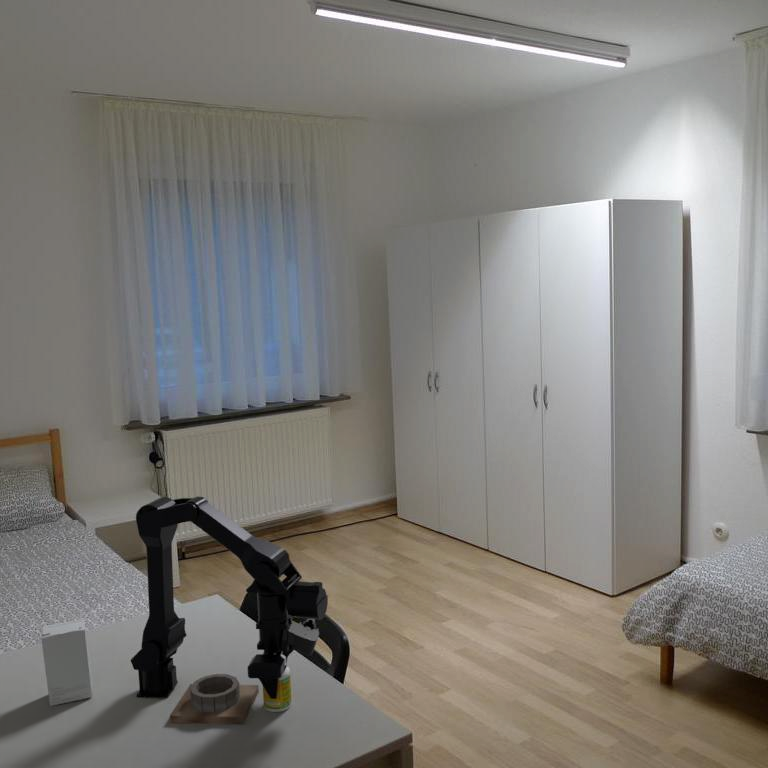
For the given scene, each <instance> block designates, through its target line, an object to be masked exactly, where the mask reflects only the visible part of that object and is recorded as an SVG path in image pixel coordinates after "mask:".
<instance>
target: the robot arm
mask: <svg viewBox="0 0 768 768" xmlns="http://www.w3.org/2000/svg"><path fill="white" fill-rule="evenodd" d="M135 522H136V528H137V531H138V532H137V533H138V537H139V538H140V539H141V540H142V543H144V545H145V548H146V569H147V592H148V593H147V594H148V617H147V621H146V622H145V626H144V629H143V631H142V638H141V647H140V648H141V649H139V651H137V653H136V654H135V655H134V656H133V657H132V658H131V659H130V663H131V665H132V667H133V670H135V671H137V672H138V673H137V674H138V685H139V688H138V689H139V690H138V691H137V693H136V698H147V699H148V698H154V699H155V698H156V699H158V698H159V699H161V698H162V699H163V698H164V699H166V698H169V696H170V695H171V693H172V692H173V690H174V689H175V688H176V687H177V684H178V679H177V666H176V665H174V658H173V656H174V655H176V653H177V651H178V648H179V647H180V646H181V645H182V644H183V642H184V638H186V637H187V636H188V635H187V632H186V629H185V627H186V618H185V617H179V616H178V614H177V613H176V611H175V599H174V598H175V597H174V575H173V572H174V571H173V548H172V544H173V541H174V537H175V535H176V533H177V530H178V525H179V524H182V523H183V524H184V523H188V522H189V523H190V522H191V523H192V524H194V525H195V526H196V527H197V528H199V530H202V531H203V532H204V533H205V534H206V535H208V536H209V537H211V538H212V539H213V540H215V541H216V542H217V543H219V544H220V545H221V546H222V547H224V548H226V550H228V551H229V552H231V554H234V556H236V557H237V558H238V559H239V561H240V563H241V564H242V566H243V568H244V570H245V571H246V572H247V573H248V575H249V576H250V577H251V578H252V579H253V581H252V582H251V584H250V586H248V587H247V588H246V590H245V591H246V592H247V593H250V594H252V593H253V594H256V597H257V599H256V600H257V615H258V616H257V617H258V618H257V619H258V620H257V622H256V623H255V630H258V636H259V637H258V639H259V641H258V642H257V644H256V650H258V651H263V653H262V654H260V653H259V654H256V655H254V656H253V657H252V658H251V660H250V661H249V664H247V677H248V678H249V679H258V681H259V682H260V683H261V685H262V687H263V686H264V688H265V690H266V691H267V693H268V695H269V697H270V698H271V699H276V698H277V692H278V684H279V678H281V677H282V674H283V673H284V671H285V669H286V667H287V666H288V665H287V664H288V657H289V656H290V655H291V654H292V653H293V652H294V651H297V652H299V653H303V654H304V655H305V656H312V655H313V652H314V650H315V647H316V645H317V641H318V639H319V636H320V631H319V630H320V629H319V628H317V625H316V620H321V621H322V620H324V618H325V617H326V615H327V614H326V613H327V610H328V601H329V599H328V597H329V596H328V595H327V591H326V589H325V588H324V587H323V582H321V581H313V582H310V581H301V580H302V578H303V577H302V575H301V573H300V572H299V571H298V570H297V568H296V567H295V565H294V564H293V563H292V561H291V560H290V554H289V553H288V551H287V550H286V549H285V548H283V547H282V546H279V545H277V544H276V543H273V542H271V541H270V540H266V539H262V538H259V537H256V536H254V535H252V534H251V533H249V532H248V531H247V530H245V529H244V527H243V528H242V526H240V525H239V524H238V523H236V522H235V521H234V520H232V519H231V518H230V517H228V516H227V515H225V514H224V513H223V512H221V511H220V510H219V509H217V508H216V507H215V506H213V505H212V504H211V503H209V501H208V500H207V498H206V497H203V496H200V495H199V496H195V497H182V498H174V499H173V498H172V499H171V498H170V497H167V496H161V497H159V498H157V499H155V500H153V501H151V502H149V503H146V504H145V505H142V506H140V508H139V509H138V510H137V511H136V514H135ZM282 576H285V577H284V579H283V580H281V579H280V578H281V577H282ZM293 618H300V619H305V620H304V621H303V622H299V623H296V622H293ZM281 655H284V656H285V657H286V666H285V659H284V658H283V657H282V656H281Z"/></svg>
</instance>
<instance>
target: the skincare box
mask: <svg viewBox="0 0 768 768" xmlns="http://www.w3.org/2000/svg"><path fill="white" fill-rule="evenodd" d="M85 622H86V621H85V618H80V619H75V620H71V621H66V622H60V623H53V624H50V625H48V624H47V625H43V626H42V631H41V632H42V633H41V638H40V640H41V645H42V646H41V647H42V653H43V661H44V662H43V664H44V669H45V670H44V671H45V676H46V683H47V692H48V700H49V706H50V707H52V706H56V705H58V706H59V705H61V704H67V703H72V702H74V701H76V702H77V701H81V700H85V699H90V698H92V697H93V681H92V672H91V671H92V670H91V664H90V654H89V646H88V638H87V637H88V636H87V629H86V623H85Z"/></svg>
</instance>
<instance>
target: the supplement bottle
mask: <svg viewBox="0 0 768 768" xmlns="http://www.w3.org/2000/svg"><path fill="white" fill-rule="evenodd" d="M281 656H282V657H283V658H284V659H285V666H287V667H286V669H285V671H284V673H283V674H282V677H281V678H279V684H278V692H277V698H276V699H271V698H270V697H269V695H268V693H267V691H266V690H265V688H264V686H263V685H262V698H263V707H264V709H265V710H266V711H268V712H271V713H279V712H284V711H286V710H287V709H289V708H290V707H291V706H292V683H291V682H292V680H291V678H292V677H291V669H290V667H289V666H288V665H287V664H286V657H285V656H284V655H281Z"/></svg>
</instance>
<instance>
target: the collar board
mask: <svg viewBox="0 0 768 768" xmlns="http://www.w3.org/2000/svg"><path fill="white" fill-rule="evenodd" d="M259 690H260V689H259V685H258V684H240V682H239V680H238V678H237V677H236V676H233V675H230V674H227V673H216V674H210V675H205V676H202V677H200V678H199V679H196V680H194V681H193V683H190V684H189V686H188V688H187V689H186V690H185V692H184V693H183V695H182V696H181V698H180V699H179V701H178V703H177V704H176V705H175V707H174V708H173V710H172V711H171V712H170V714H169V722H170V724H193V725H194V724H200V725H207V724H208V725H240V726H241V725H243V726H244V725H245V722H246V720H247V717H248V715H249V713H250V711H251V710H252V707H253V705H254V703H255V701H256V698H257V697H258V694H259V692H260V691H259Z"/></svg>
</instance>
